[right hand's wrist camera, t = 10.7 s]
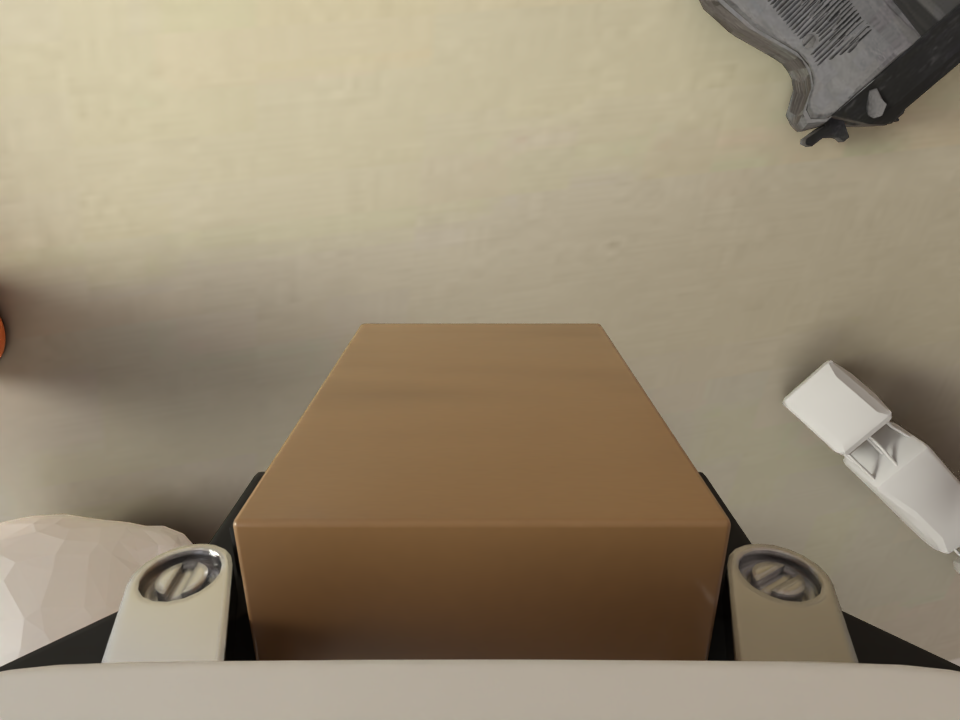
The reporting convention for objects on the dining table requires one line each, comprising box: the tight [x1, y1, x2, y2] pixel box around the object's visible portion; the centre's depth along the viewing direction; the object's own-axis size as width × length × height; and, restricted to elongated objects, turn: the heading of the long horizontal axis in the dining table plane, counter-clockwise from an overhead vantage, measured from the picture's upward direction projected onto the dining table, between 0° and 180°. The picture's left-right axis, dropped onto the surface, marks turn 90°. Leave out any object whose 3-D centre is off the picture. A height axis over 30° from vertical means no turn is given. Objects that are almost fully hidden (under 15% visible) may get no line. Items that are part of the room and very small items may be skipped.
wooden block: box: [233, 324, 731, 661], centre depth 11 cm, size 5×5×7 cm
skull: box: [0, 514, 193, 667], centre depth 33 cm, size 13×22×16 cm, turn 49°
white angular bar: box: [782, 360, 960, 574], centre depth 34 cm, size 20×4×7 cm, turn 48°
